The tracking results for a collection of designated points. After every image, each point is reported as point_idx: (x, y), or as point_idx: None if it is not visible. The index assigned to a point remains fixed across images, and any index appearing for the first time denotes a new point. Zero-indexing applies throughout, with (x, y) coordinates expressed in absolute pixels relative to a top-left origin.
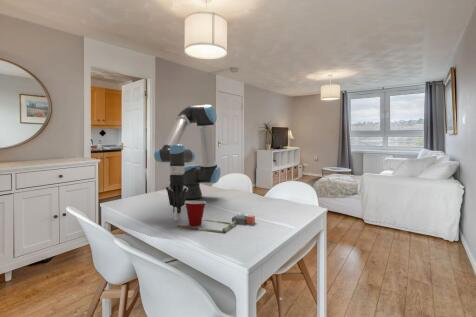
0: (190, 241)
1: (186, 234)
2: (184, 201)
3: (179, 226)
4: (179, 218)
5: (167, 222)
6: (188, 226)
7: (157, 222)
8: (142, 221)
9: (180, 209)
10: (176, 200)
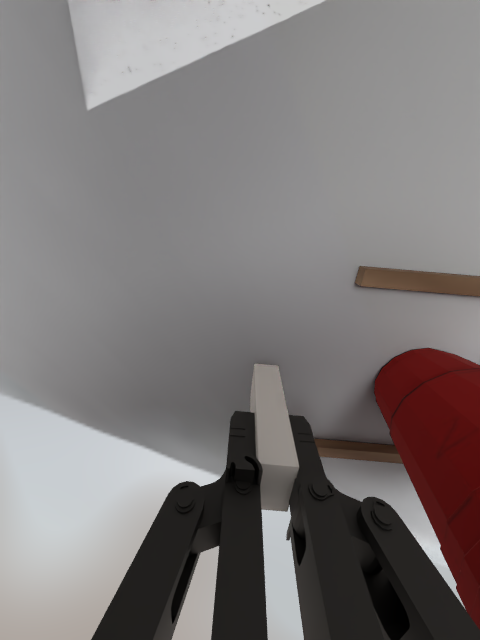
0: (441, 556)
1: (404, 511)
2: (447, 611)
3: (333, 455)
4: (277, 372)
5: (192, 377)
6: (393, 454)
7: (130, 392)
8: (21, 395)
9: (315, 458)
10: (261, 612)
